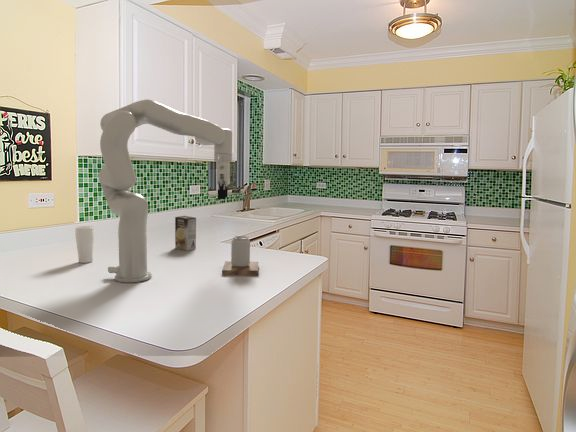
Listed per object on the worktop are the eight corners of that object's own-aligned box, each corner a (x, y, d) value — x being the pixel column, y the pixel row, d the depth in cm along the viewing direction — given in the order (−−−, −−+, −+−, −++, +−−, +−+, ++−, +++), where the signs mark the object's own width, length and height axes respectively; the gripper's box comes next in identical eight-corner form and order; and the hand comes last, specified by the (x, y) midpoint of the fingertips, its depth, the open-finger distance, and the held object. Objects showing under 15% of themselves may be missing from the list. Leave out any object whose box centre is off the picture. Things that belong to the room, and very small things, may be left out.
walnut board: (222, 275, 150) (222, 270, 150) (225, 265, 164) (225, 261, 164) (258, 275, 151) (258, 270, 151) (258, 266, 165) (258, 261, 165)
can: (240, 262, 162) (241, 234, 161) (253, 265, 158) (254, 237, 156) (227, 265, 156) (227, 236, 155) (240, 269, 152) (240, 239, 150)
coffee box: (174, 248, 195) (174, 216, 193) (184, 246, 201) (184, 215, 199) (187, 250, 191) (187, 218, 189) (196, 248, 196) (196, 217, 194)
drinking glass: (97, 262, 164) (96, 227, 162) (80, 264, 159) (78, 228, 157) (91, 259, 168) (89, 225, 166) (74, 261, 163) (72, 226, 161)
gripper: (230, 158, 157) (229, 200, 159) (233, 158, 174) (232, 196, 176) (211, 157, 156) (211, 199, 158) (216, 158, 173) (216, 196, 175)
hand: (222, 198), depth 167 cm, fingers open, 9 cm apart
